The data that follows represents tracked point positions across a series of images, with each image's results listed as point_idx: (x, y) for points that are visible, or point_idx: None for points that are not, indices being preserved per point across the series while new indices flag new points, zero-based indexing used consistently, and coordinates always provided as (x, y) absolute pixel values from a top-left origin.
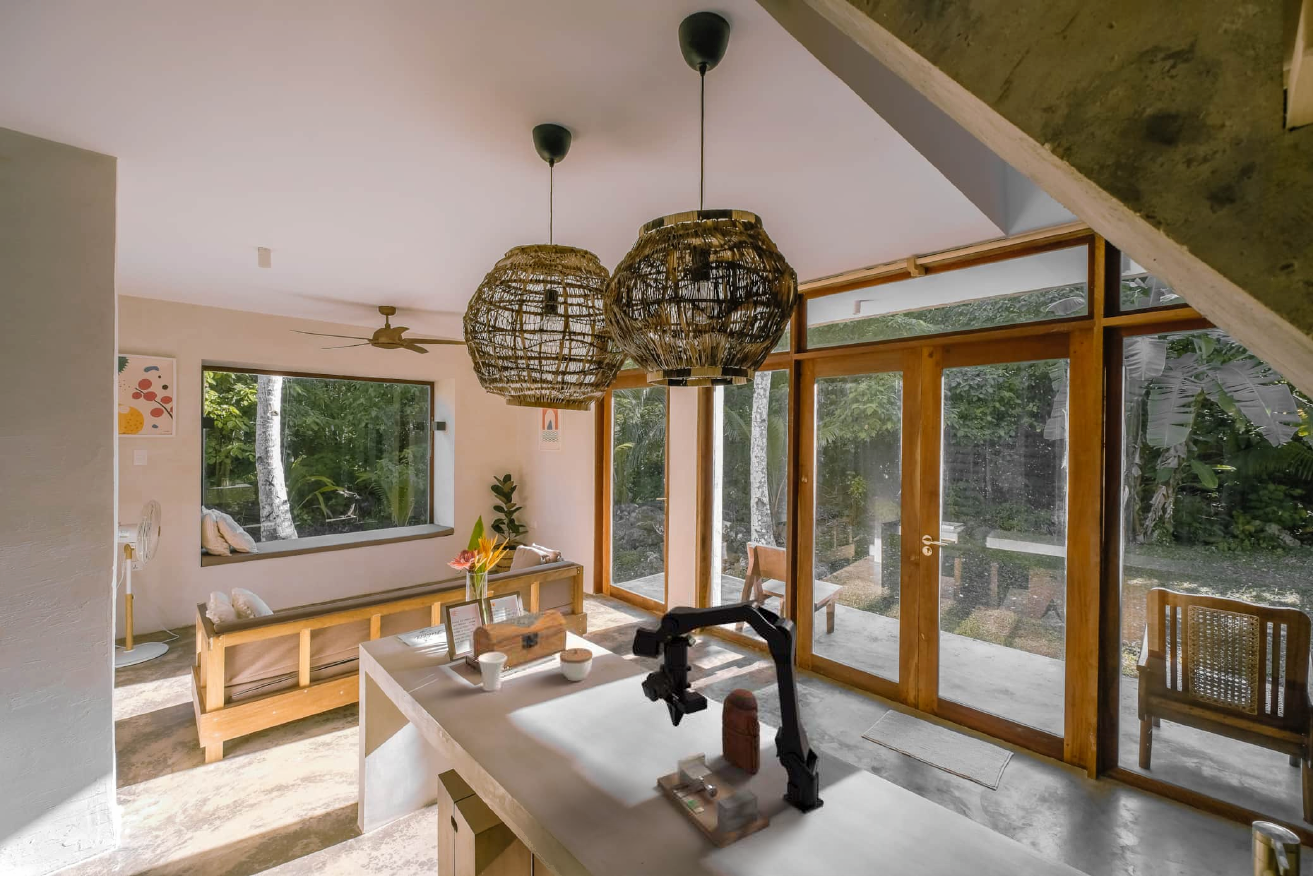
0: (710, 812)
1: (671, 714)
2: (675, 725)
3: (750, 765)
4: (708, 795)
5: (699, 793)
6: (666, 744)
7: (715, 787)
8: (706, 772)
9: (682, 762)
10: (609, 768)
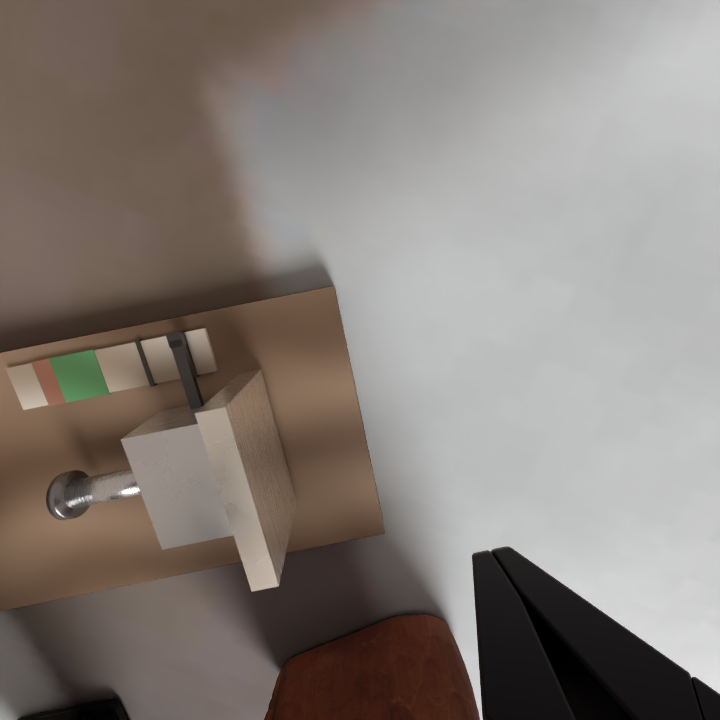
0: (12, 430)
1: (587, 668)
2: (474, 571)
3: (281, 695)
4: None
5: None
6: (620, 435)
7: None
8: (169, 526)
9: (200, 431)
10: (559, 87)
